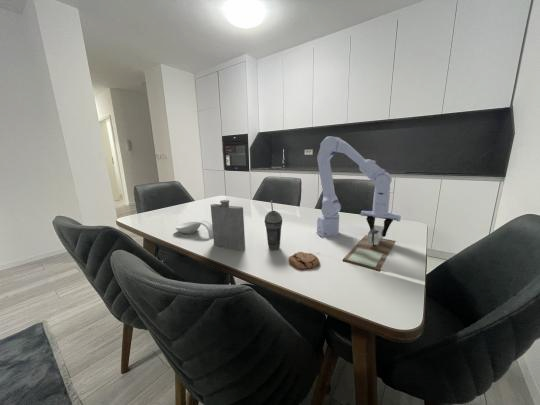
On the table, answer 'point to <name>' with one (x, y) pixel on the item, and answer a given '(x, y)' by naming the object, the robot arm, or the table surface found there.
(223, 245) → the hip flask
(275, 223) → the beverage cup
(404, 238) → the table surface
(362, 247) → the stand
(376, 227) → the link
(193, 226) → the white curved piece
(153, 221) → the table surface
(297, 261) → the cookie
